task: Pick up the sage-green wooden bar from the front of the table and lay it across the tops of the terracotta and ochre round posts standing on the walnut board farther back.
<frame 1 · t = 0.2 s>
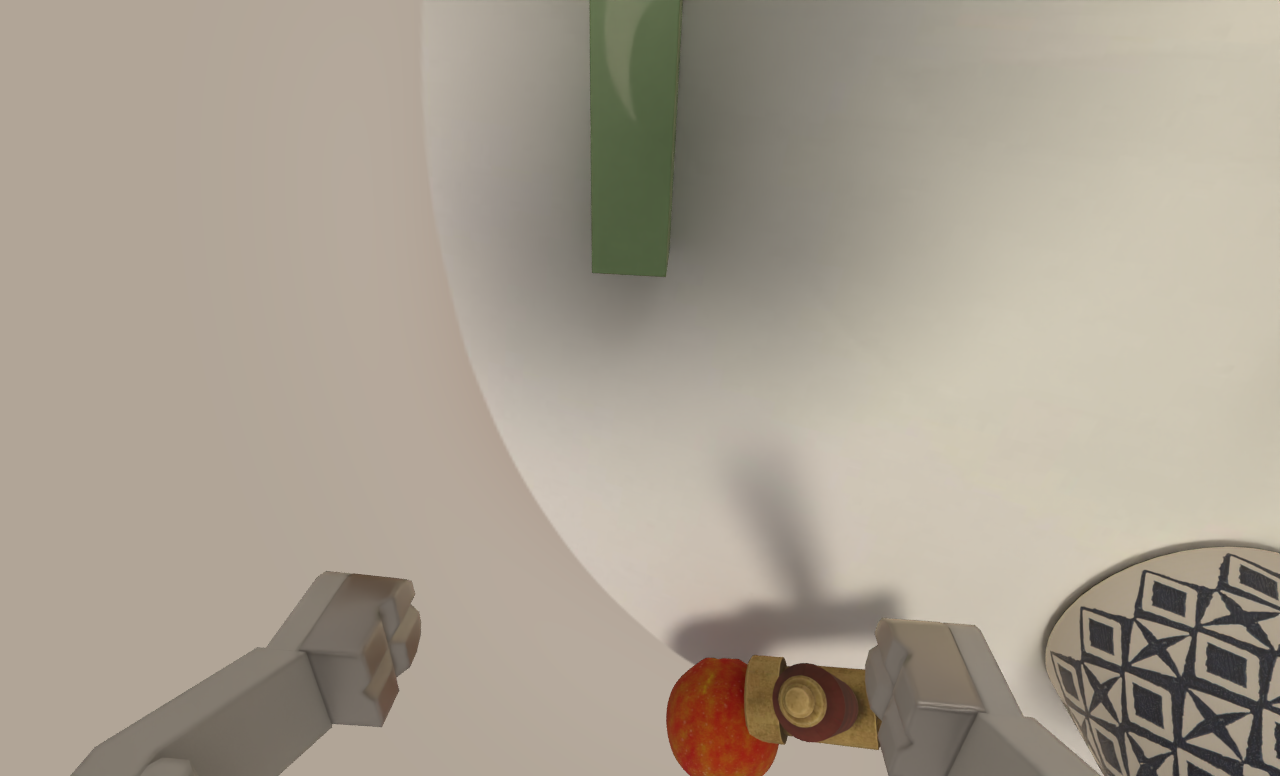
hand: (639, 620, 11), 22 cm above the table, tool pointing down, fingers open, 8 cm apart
fruit: (721, 654, 39), point 3 cm above the table, touching gavel
bar: (641, 62, 26), on the table
planter: (1173, 631, 39), on the table
gavel: (823, 657, 29), point 9 cm above the table, touching fruit
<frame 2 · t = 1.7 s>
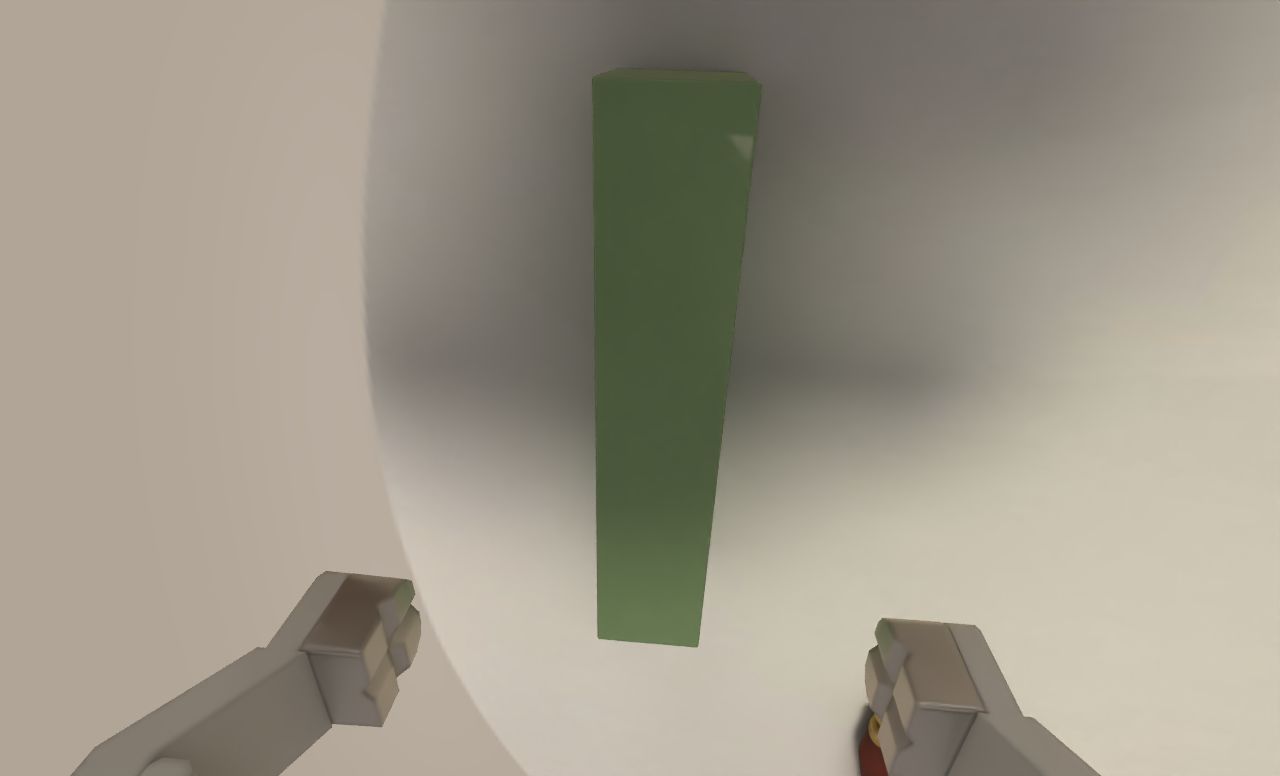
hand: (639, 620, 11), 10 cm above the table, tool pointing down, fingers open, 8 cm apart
bar: (665, 361, 19), on the table
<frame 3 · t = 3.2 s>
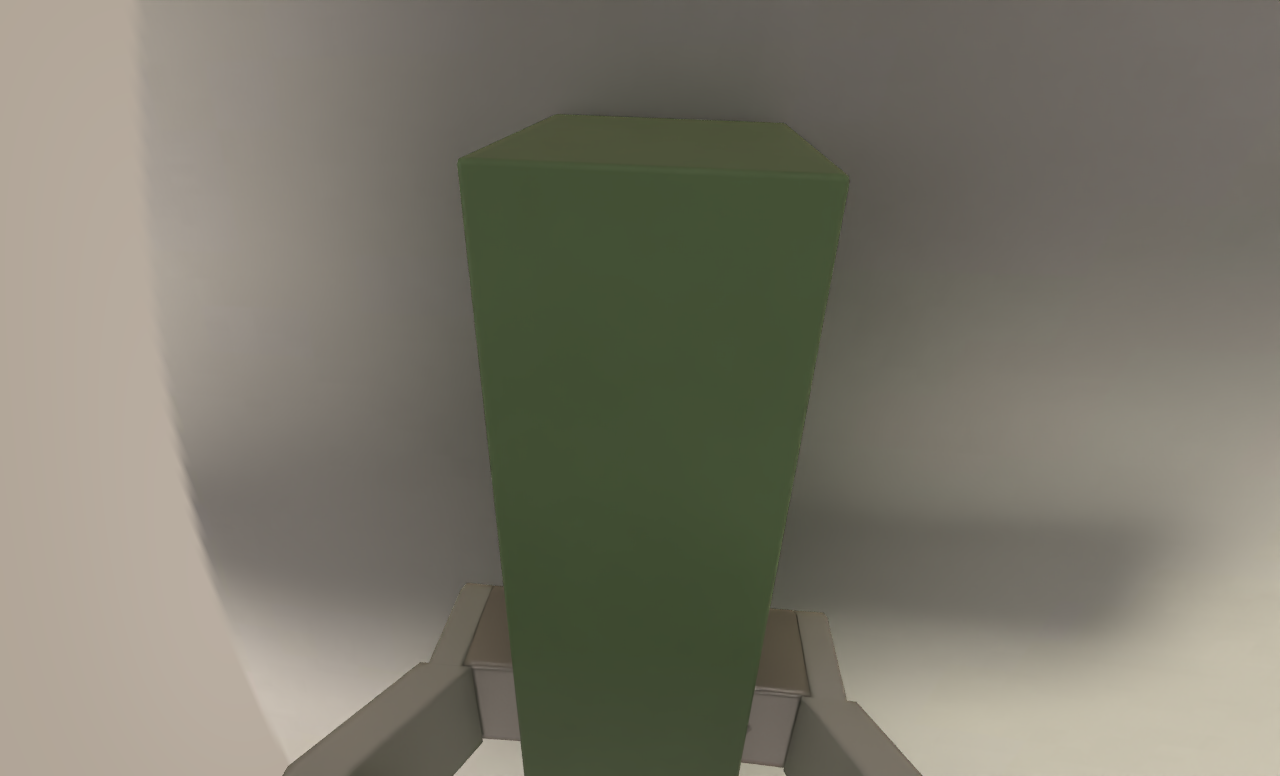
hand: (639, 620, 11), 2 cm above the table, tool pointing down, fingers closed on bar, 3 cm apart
bar: (648, 552, 12), on the table, touching gripper
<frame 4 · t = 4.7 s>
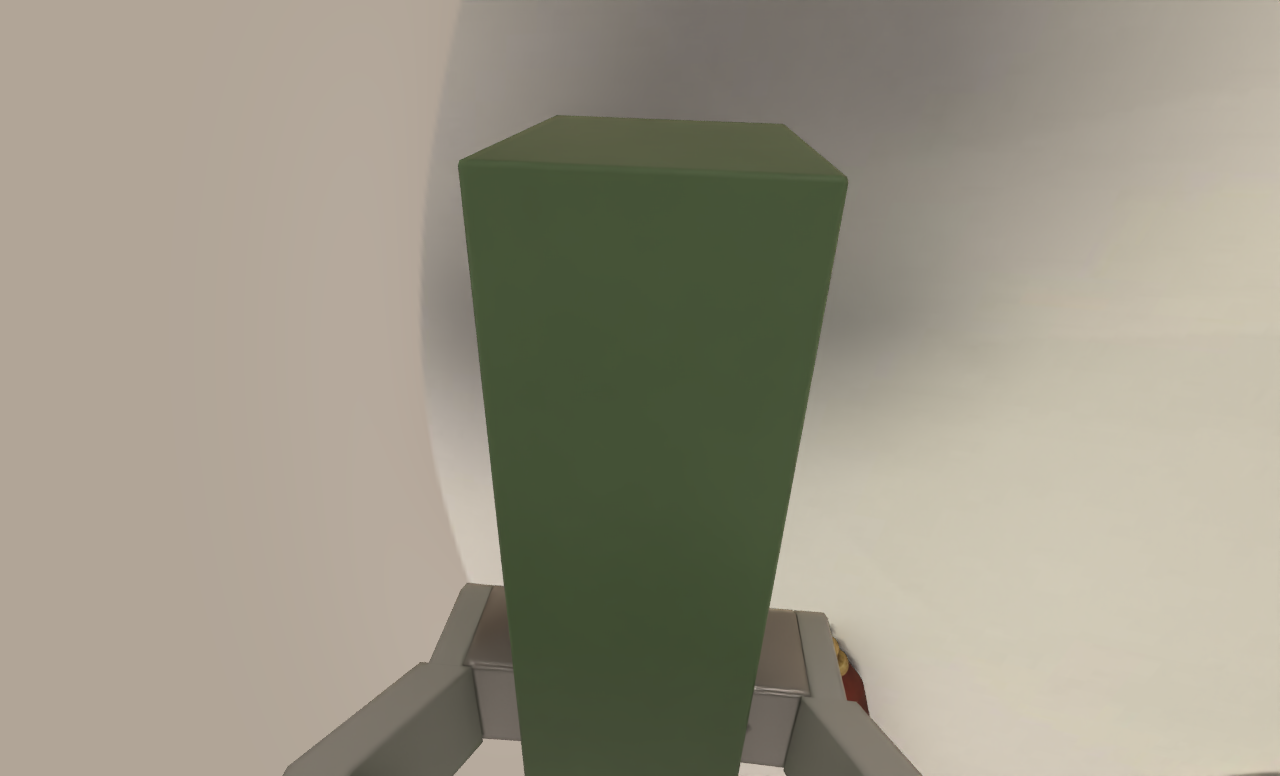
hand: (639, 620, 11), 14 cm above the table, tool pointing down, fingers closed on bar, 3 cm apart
bar: (648, 552, 12), point 12 cm above the table, touching gripper
gavel: (849, 746, 35), on the table, touching fruit
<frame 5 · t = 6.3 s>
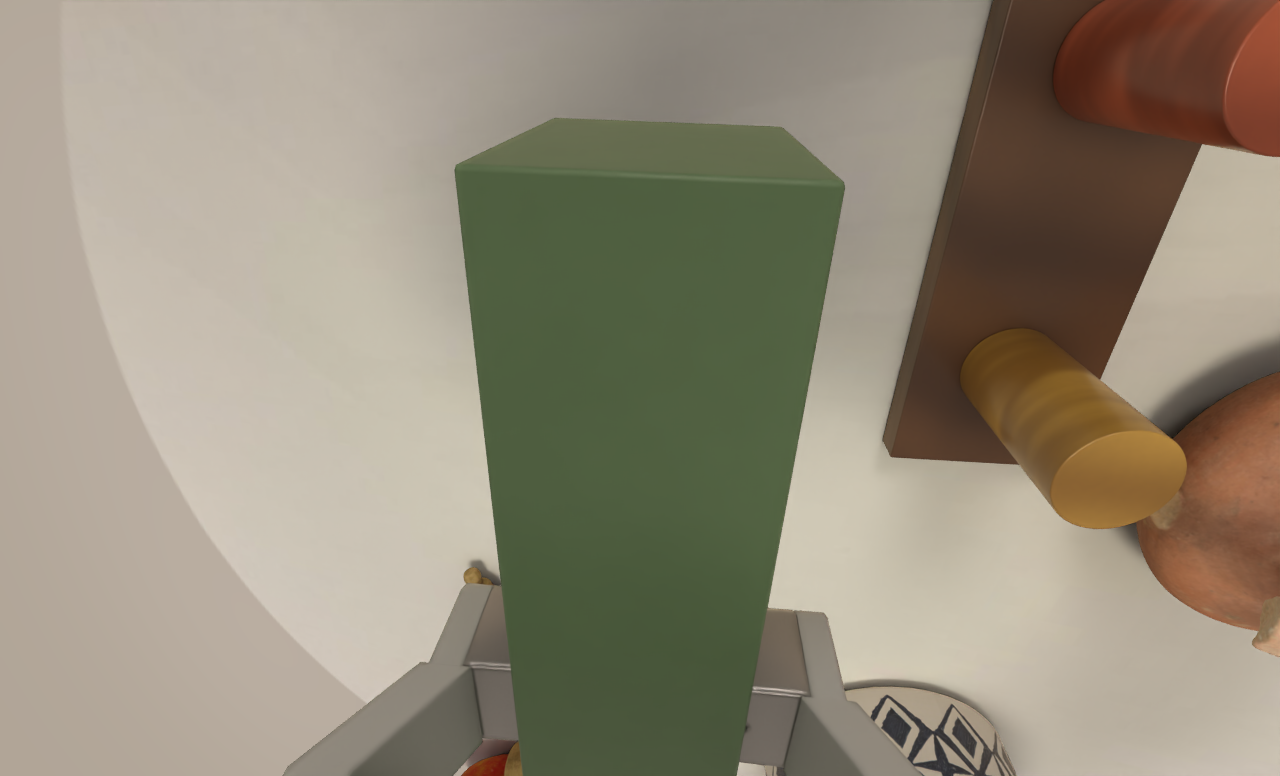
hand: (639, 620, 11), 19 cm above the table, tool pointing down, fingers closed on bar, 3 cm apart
rod stand: (1036, 224, 25), on the table
fruit: (509, 759, 48), on the table, touching gavel
bar: (646, 554, 12), point 17 cm above the table, touching gripper
planter: (876, 749, 43), on the table
gavel: (543, 664, 42), on the table, touching fruit
ceramic jug: (1279, 460, 30), on the table
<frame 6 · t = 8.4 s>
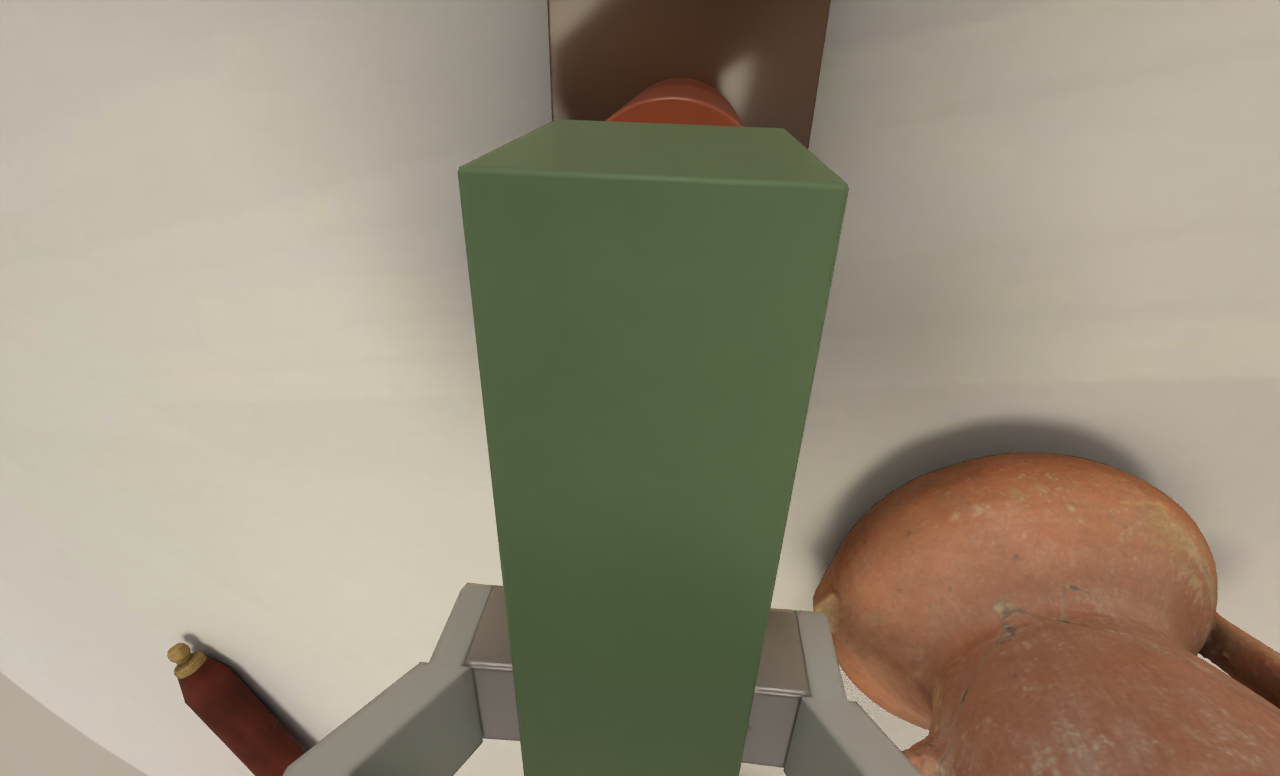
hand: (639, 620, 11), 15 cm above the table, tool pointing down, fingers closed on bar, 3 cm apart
rod stand: (670, 310, 23), on the table
bar: (648, 555, 12), point 13 cm above the table, touching gripper
gavel: (298, 733, 40), on the table, touching fruit
ceramic jug: (984, 551, 28), on the table
when the fingers open (11 cm above the table, at t = 9.6 s): bar stays where it is, resting on rod stand.
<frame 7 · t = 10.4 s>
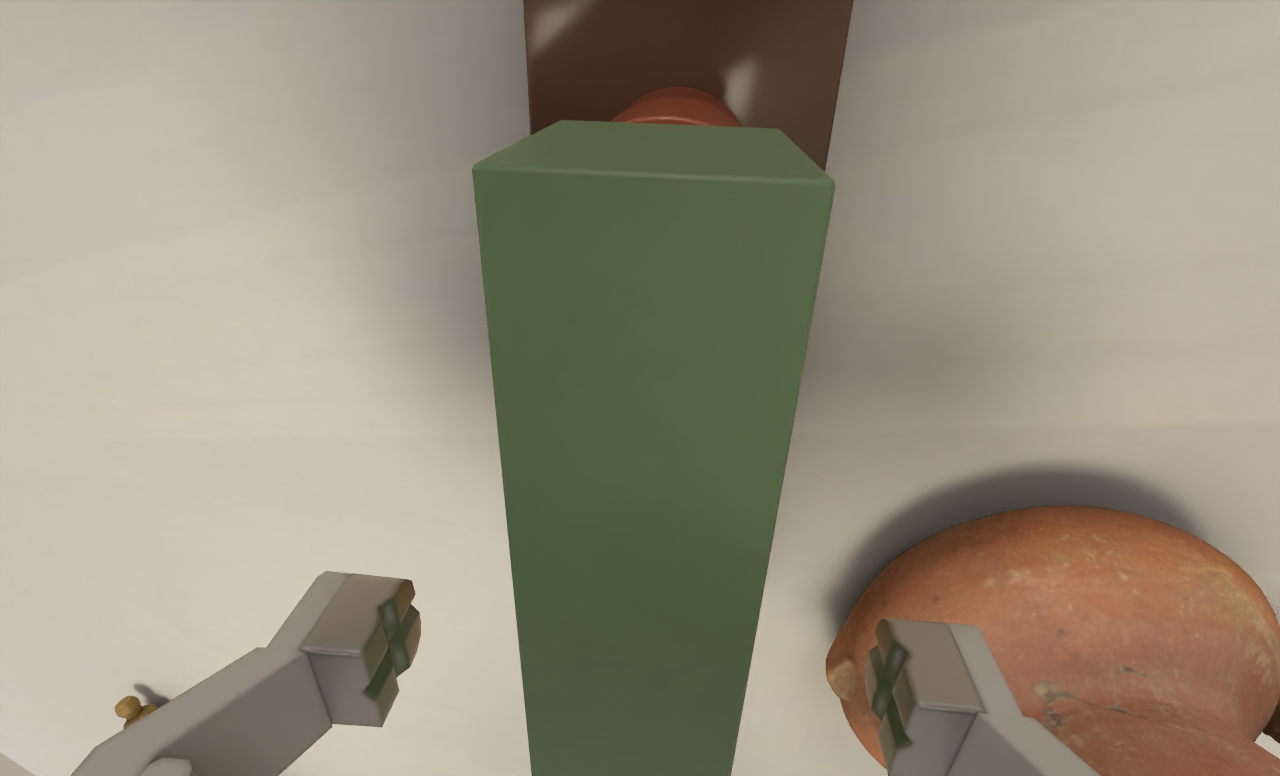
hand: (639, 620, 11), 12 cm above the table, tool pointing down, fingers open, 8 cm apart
rod stand: (667, 345, 21), on the table
bar: (648, 542, 13), point 9 cm above the table, touching rod stand
ceramic jug: (1013, 604, 26), on the table
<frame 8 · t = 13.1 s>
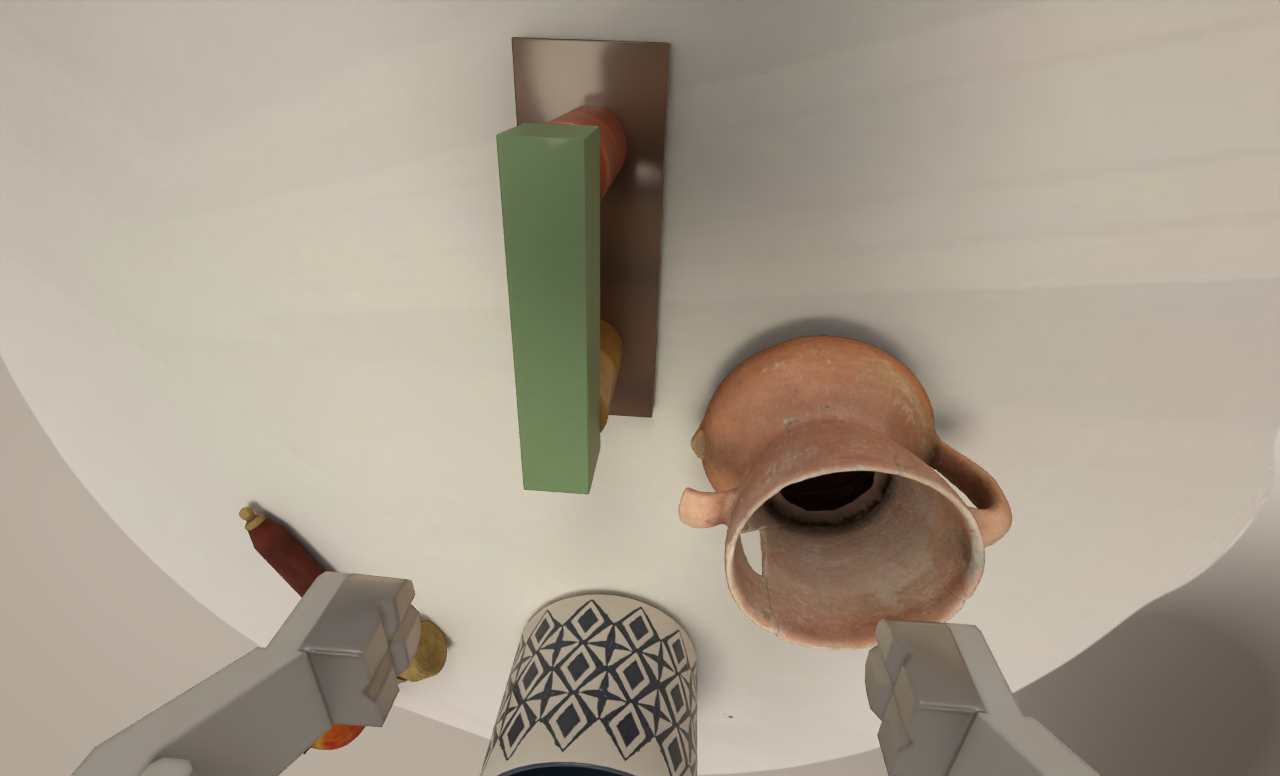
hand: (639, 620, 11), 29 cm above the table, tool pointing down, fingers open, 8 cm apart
rod stand: (595, 247, 37), on the table
fruit: (353, 670, 60), on the table, touching gavel
bar: (566, 306, 29), point 9 cm above the table, touching rod stand
planter: (608, 650, 55), on the table
gavel: (339, 582, 54), on the table, touching fruit
ceramic jug: (813, 416, 42), on the table
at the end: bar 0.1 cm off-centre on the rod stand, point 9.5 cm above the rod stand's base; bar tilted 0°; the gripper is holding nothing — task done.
